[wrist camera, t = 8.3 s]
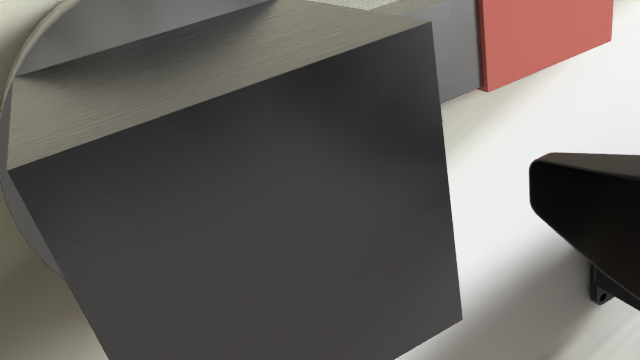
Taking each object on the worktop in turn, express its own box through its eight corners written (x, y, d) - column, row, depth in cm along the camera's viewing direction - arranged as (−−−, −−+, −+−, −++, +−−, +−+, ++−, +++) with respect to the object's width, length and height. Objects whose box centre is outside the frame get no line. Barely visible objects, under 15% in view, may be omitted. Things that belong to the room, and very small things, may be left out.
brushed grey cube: (282, -4, 14) (431, 20, 9) (331, 210, 17) (462, 319, 12) (12, 77, 12) (7, 170, 7) (124, 304, 15) (176, 486, 10)
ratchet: (569, -143, 19) (740, -173, 15) (566, 96, 23) (697, 130, 19) (-72, 22, 13) (-125, 61, 8) (84, 312, 17) (108, 446, 12)
